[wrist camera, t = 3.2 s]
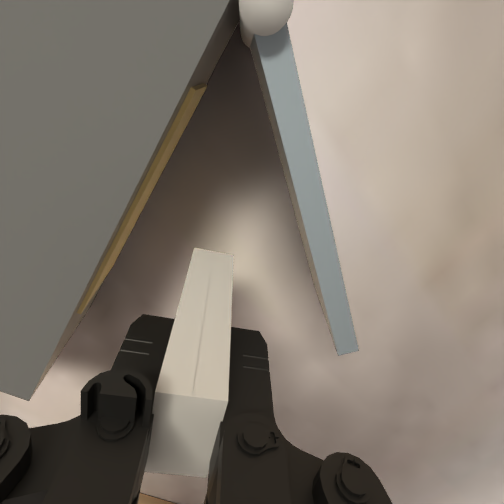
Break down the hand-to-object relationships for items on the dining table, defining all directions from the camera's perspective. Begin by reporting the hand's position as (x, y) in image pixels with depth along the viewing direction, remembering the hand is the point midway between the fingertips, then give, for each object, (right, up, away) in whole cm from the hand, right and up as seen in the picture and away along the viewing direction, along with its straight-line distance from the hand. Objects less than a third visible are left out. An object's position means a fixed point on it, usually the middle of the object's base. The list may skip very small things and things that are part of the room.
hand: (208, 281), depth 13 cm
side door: (+3, +5, +2) cm, 6 cm away
